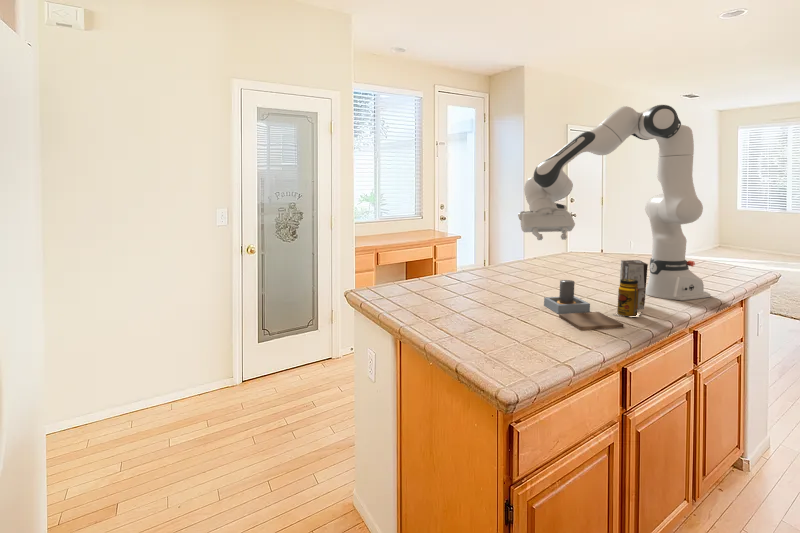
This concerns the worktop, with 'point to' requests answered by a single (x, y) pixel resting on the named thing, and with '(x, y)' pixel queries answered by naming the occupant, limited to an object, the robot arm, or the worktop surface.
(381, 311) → the worktop surface
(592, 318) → the walnut board
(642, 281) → the coffee box
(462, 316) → the worktop surface
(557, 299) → the socket
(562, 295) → the plug
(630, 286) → the condiment
